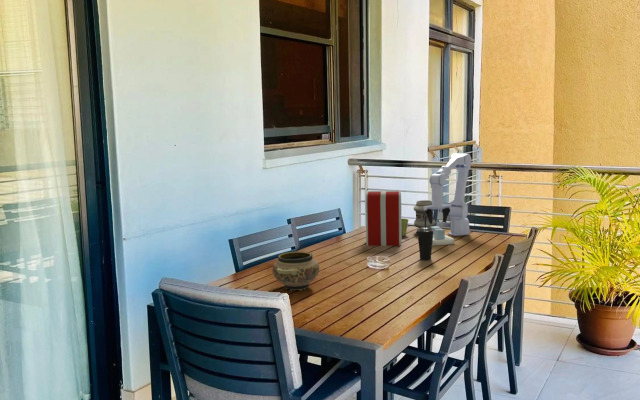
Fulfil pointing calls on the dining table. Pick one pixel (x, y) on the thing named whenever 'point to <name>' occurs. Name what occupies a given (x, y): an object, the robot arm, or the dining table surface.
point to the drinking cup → (425, 242)
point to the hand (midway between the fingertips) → (437, 223)
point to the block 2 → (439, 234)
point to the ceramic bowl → (296, 270)
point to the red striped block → (383, 218)
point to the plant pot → (404, 226)
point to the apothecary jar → (422, 214)
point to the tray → (443, 241)
